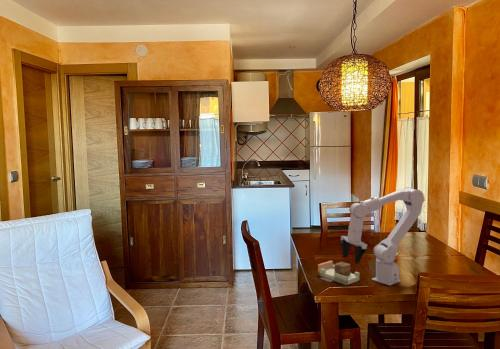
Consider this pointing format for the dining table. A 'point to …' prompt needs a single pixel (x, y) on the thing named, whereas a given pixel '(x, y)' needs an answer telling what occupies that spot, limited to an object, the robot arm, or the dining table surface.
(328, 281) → the mats
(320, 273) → the trap lane
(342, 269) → the walnut block
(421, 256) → the dining table surface
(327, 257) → the dining table surface
